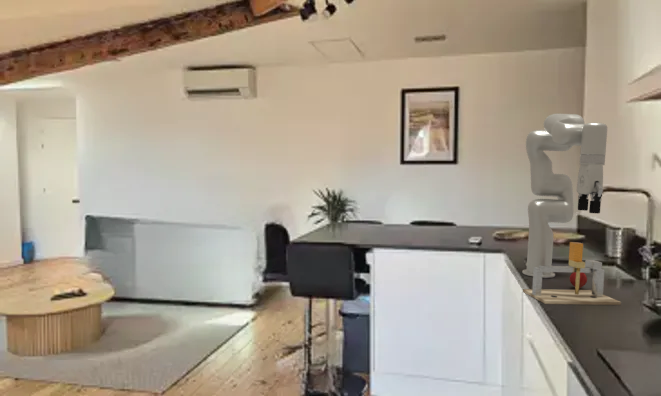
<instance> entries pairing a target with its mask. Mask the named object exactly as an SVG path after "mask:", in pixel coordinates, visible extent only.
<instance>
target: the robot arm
mask: <svg viewBox="0 0 661 396" xmlns="http://www.w3.org/2000/svg"><path fill="white" fill-rule="evenodd" d="M543 128H544V129H537V130H535V129H534V130H532V131H530V132H529V133H528V134H527V135H526V138H525V139H526V140H525V150H526V153H527V154H526V155H527V157H528V160H529V166H530V167H529V168H530V169H529V170H530V171H529V172H530V188H531V192H532V194H533V195H535V196H539V197H554V198H557V199H552V198H535V199H533V200H531V201H530V202H529V203H528V205H527V214H528V242H527V257H526V262H525V266H526V269H523V270H522V274H523V275H525V276H529V277H533V271H534V267H539V266H553V265H552V264H553V263H552V262H553V260H552V259H553V249H554V232H553V230H552V228H551V226H550V225H549V223H551V224H552V223H555V224H556V223H557V224H559V223H560V224H566V223H567V224H568V223H570V222H571V221H573V217H574V191H573V187H574V186H573V181H572V179H571V177H570V176H569V175H568V174H563V173H554V172H553V162H552V160H551V158H550V157H549V155H547V153H546V151H548V152H566V151H567V152H568V151H570V150H571V148H573V147H575V146H578V147H580V152H579V153H580V155H579V165H580V166H579V170H578V175H577V183H576V193H577V194H578V197H577V200H578V201H577V211H588V212H589V214H600V213H601V204H602V197H603V192H604V187H603V186H604V166H606V165H605V164H606V163H605V162H606V152H607V142H608V141H607V138H608V126H607V124H605V123H602V122H588V123H585V119H584V118H583V116H581V115H580V114H576V113H572V114H571V113H552V114H549V115H548V116H547V117H546V118H545V119H544V121H543ZM589 196H590V201H589ZM555 277H556V272H543V274H542V279H543V278H544V279H546V278H547V279H549V278H555Z"/></svg>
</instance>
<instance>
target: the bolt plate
mask: <svg viewBox="0 0 661 396" xmlns="http://www.w3.org/2000/svg"><path fill="white" fill-rule="evenodd" d="M522 293H525V294H526V295H528V296H530V297H532V298H533V299H536V300H537V301H539V302H541V303H543V304H544V305H596V306H597V305H598V306H599V305H600V306H601V305H604V306H606V305H607V306H608V305H609V306H621V304H622V301H620V300H617V299H615V298H612V297H610V296H608V295H605V294H603V297H597V296H595V295H593V294H592V289H579V294H575V289H549V288H548V289H543V288H542V289H541V296H535V295H533V294H532V288H531V289H530V288H524V289H523V288H522Z"/></svg>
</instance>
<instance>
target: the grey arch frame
mask: <svg viewBox="0 0 661 396" xmlns="http://www.w3.org/2000/svg"><path fill="white" fill-rule="evenodd" d="M584 262H585V268H580V272H583V273H585V274H587V273H589V274H591V273H592V282H591V284H592V285H591V290H592V294H593V295H595V296H597V297H603V295H604V283H605V282H604V281H605V272H606V271H605V269H603V268H602V267H603V262H601V261H598V260H595V259H585V261H584ZM543 272H553V273H572V272H576V268H575V267H572V266H569V265H568V266H567V265H565V266H564V265H552V266H539V267H534V271H533V276H532V288H531V289H532V294H533V295H535V296H541V289H543V288H542V287H543V278H542V274H543Z"/></svg>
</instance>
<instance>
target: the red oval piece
mask: <svg viewBox="0 0 661 396" xmlns="http://www.w3.org/2000/svg"><path fill="white" fill-rule="evenodd" d="M570 273H571V274H570V275H569V282H570V284H571V285H572V286H573V287H574V288H575V283H576V272H570ZM587 282H588V277H587V275H586V273H583V272H580V282H579V290H581V289H582V288H583V287H584V286H585V285H586V284H587Z"/></svg>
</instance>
